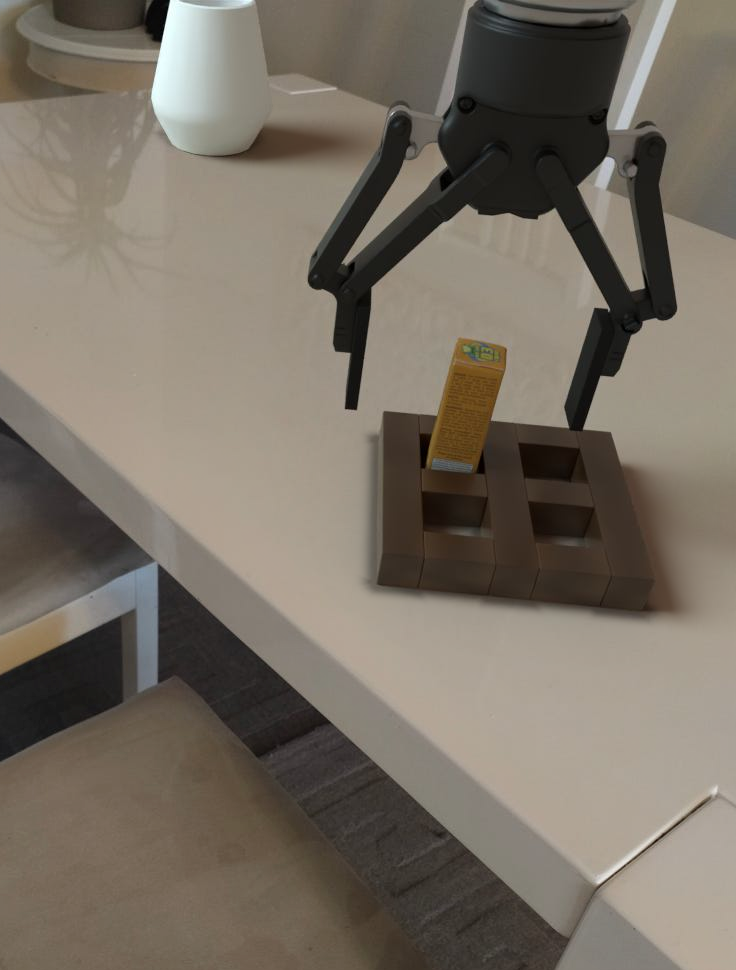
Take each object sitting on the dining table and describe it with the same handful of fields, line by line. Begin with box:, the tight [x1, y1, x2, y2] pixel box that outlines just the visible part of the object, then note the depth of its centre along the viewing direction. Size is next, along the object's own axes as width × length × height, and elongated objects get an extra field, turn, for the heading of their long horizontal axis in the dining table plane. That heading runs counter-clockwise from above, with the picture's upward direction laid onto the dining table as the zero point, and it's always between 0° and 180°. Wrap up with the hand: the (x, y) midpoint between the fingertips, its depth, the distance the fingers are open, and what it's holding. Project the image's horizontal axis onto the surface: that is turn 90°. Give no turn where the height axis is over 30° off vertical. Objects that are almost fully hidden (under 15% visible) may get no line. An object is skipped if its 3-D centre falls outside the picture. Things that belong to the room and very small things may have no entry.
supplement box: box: [423, 337, 508, 474], centre depth 61 cm, size 3×3×10 cm
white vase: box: [150, 0, 273, 157], centre depth 106 cm, size 13×13×14 cm
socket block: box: [375, 410, 656, 612], centre depth 61 cm, size 15×15×3 cm
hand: (461, 409), depth 60 cm, fingers open, 13 cm apart
